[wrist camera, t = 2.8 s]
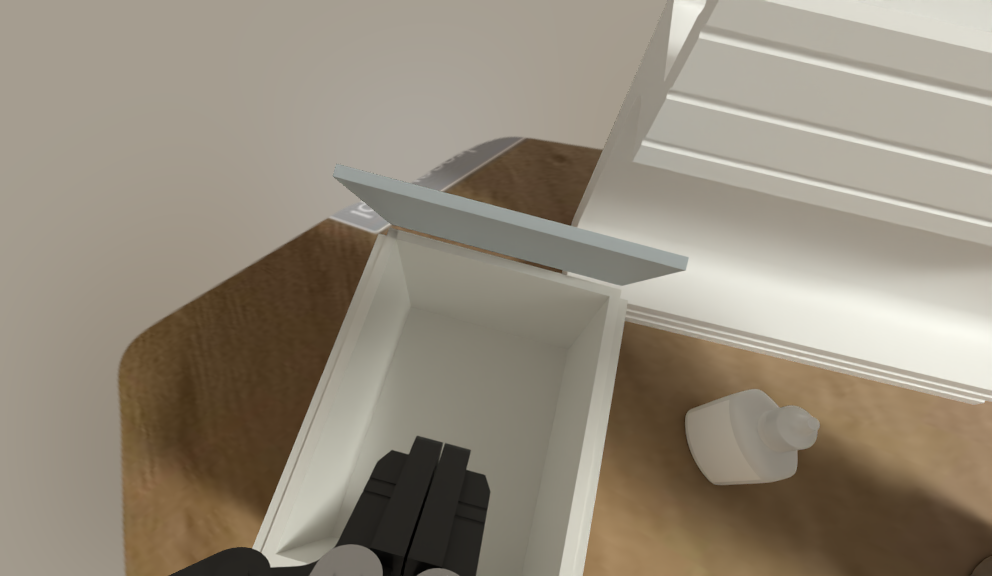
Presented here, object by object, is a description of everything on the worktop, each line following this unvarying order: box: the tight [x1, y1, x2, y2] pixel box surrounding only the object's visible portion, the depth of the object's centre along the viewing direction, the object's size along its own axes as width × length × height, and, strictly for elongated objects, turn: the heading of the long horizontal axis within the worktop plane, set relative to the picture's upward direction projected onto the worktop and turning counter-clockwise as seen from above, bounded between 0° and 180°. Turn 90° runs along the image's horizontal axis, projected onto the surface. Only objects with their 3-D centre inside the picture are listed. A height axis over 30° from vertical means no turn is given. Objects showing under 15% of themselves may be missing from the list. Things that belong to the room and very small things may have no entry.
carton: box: [252, 228, 628, 576], centre depth 31 cm, size 18×15×12 cm
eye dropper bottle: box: [685, 389, 820, 485], centre depth 33 cm, size 4×6×12 cm
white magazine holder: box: [562, 0, 992, 405], centre depth 30 cm, size 35×8×28 cm, turn 77°
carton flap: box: [333, 164, 689, 286], centre depth 24 cm, size 10×14×1 cm
